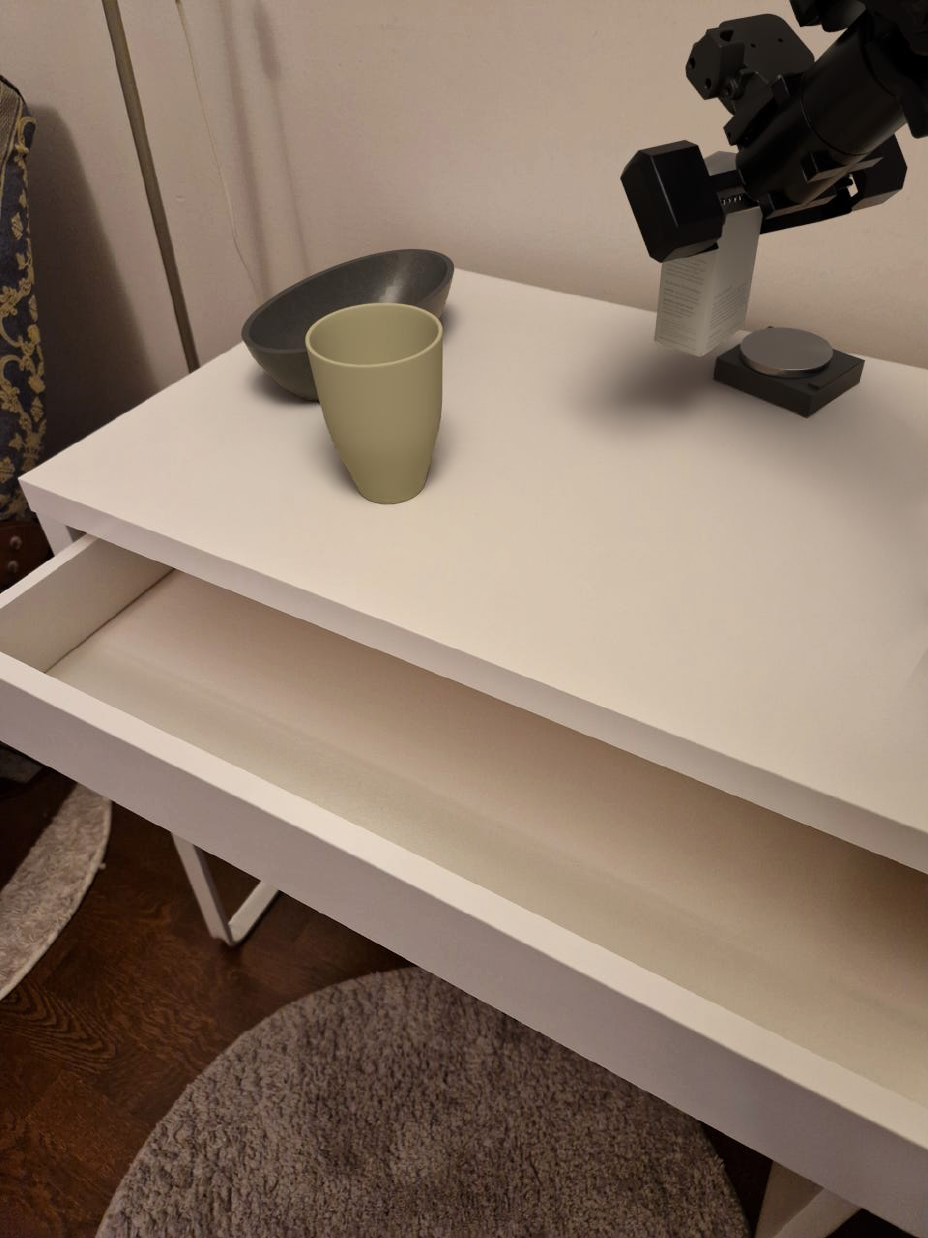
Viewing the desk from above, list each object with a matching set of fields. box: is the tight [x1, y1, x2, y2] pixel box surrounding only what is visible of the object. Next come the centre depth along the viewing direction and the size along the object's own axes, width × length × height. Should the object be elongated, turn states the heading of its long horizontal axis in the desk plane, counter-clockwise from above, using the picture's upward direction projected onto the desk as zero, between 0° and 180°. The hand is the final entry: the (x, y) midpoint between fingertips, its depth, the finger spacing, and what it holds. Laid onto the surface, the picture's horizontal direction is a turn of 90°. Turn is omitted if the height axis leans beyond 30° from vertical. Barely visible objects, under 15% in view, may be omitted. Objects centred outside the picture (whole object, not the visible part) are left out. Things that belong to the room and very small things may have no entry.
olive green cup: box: [305, 303, 444, 505], centre depth 68 cm, size 11×10×12 cm
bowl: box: [240, 248, 455, 402], centre depth 83 cm, size 12×22×6 cm, turn 141°
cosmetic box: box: [653, 150, 763, 358], centre depth 67 cm, size 6×4×12 cm
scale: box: [712, 325, 866, 419], centre depth 79 cm, size 9×8×3 cm
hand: (699, 242), depth 68 cm, fingers closed on cosmetic box, 7 cm apart
